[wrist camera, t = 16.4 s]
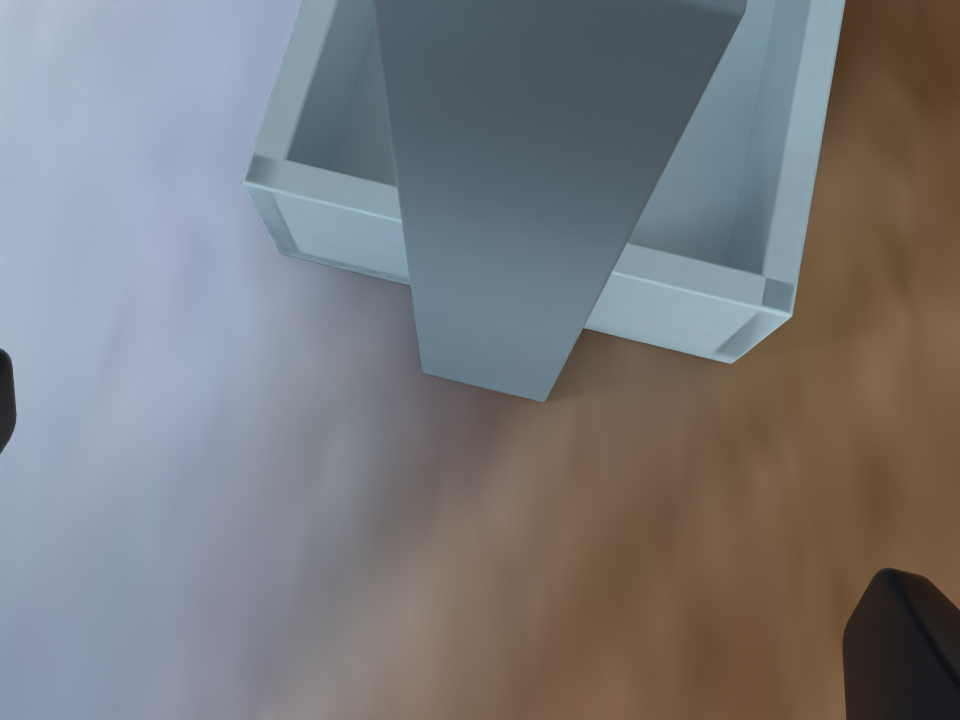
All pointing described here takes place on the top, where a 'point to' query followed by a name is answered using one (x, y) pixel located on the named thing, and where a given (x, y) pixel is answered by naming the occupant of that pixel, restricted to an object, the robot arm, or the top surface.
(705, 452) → the top surface
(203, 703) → the top surface
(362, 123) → the pale blue channel tray
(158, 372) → the top surface
